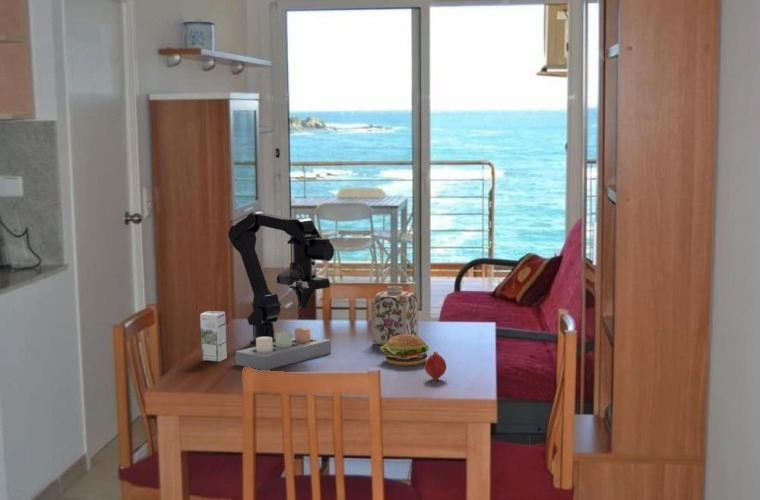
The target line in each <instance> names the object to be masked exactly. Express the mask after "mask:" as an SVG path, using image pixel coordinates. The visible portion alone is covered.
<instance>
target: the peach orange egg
mask: <svg viewBox="0 0 760 500" xmlns="http://www.w3.org/2000/svg"><path fill="white" fill-rule="evenodd" d="M311 335H312V334H311V328H310V327H297V328H294V337H295V343H300V344H305V343H309V342H311V337H312V336H311Z"/></svg>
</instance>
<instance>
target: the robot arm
mask: <svg viewBox="0 0 760 500" xmlns="http://www.w3.org/2000/svg"><path fill="white" fill-rule="evenodd" d="M261 227H265V228H268V229H274V230H279V231H282V232H285V233H286V234H287V235H289V236H290V237H291V238H290V239H289V240H287V242H286V243H287V244H289V245H292V247H293V249H292V251H293V254H292V255H293V261H291V262H290V263H289V268H286V269H285V270H283V271H282V272H280V273H278V275H277V277H276V284H280V285H283V286H285V285H286V286H288V288H290V289H292V290H293V291H294V292H295V294H296V297H297V299H298V303H299V305H300V307H301V309H306V308H307V306H308V304H309V301H310V298H311V297H312V295H313V293H314V291H315V290H321V289H327V288H330V287H331V284H330V283H331V281H330V279H329V278H327V277H316V274H315V273H314V274H313V266H315V265H316V262H315V261H322V262H323V261H324V262H330V261H332V259H333V258H334V256H335V248H334V246H333V244H332V243H331V242H330V238H322V236H321V234H320V232H319V231H318V230H317V227H316V226H315V224H314V222H313V219H311V218H310V217H293V218H292V217H291V218H290V217H285V216H281V215H276V214H272V213H266V212H263V211H253V212H250V213H248V215H246V217H245V218H242V219H241V220H239V221H238V222H237V223H236V224H235V225H232V226H230V228H229V230H228V232H227V235H228V239H229V241H230V244H231V245H232V247H233V248H234V249H235V250H236V251H237V252H238V253H239V254H240V257H241V261H242V263H243V266H244V269H245V272H246V275H247V278H248V281H249V284H250V287H251V290H252V293H253V300H252V309H253V310H252V312H251V313H250V314H249V316H248V317H247V322H248V325H250V326H252V339H251V340H249V343H253V344H256V338H258V337H272V341H273V342H276V338H275V328H274V323H275V322H276V323H277V322H278V317H279V315H280V313H281V306H282V304H281V303H280V300H279V296H278V294H277V293H272V292H271V291H270V289H269V288H268V285H267V281H266V278H265V275H264V272H263V268H262V266H261V263H260V261H259V257H258V254H257V252H256V251H257V250H256V244H257V236H256V234H257V232H259V231H260V230H261ZM314 260H315V261H314Z"/></svg>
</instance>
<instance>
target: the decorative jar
mask: <svg viewBox="0 0 760 500" xmlns="http://www.w3.org/2000/svg"><path fill="white" fill-rule="evenodd" d="M418 301H419V299H418V298H417V296H416V295H415V294H414V293H413V292H411V291H408V290H407V291H406V290H403V287H402V286H400V285H390V286H387V290H383V291H380V292H378V293H376V294H375V296H374V299H373V301H372V303H371V306H372V307H371V310H372V311H371V312H372V314H371V315H372V317H371V318H372V320H371V322H372V323H371V324H372V325H371V326H372V329H371V330H372V332H371V333H372V344H373V345H378V344H379V345H380V346H382V345H383V343H385V344H386V343H387V342H388V340H389V339H390V338H392V337H394V336H397V335H404V334H409V335H414V336H418V337H419V308H418V307H419V303H418ZM379 345H378V346H379Z"/></svg>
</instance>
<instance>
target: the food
mask: <svg viewBox="0 0 760 500" xmlns="http://www.w3.org/2000/svg"><path fill="white" fill-rule="evenodd" d="M429 348H430V347H429V346H428V344H426V343H425V342H424V340H423V339H422V338H421V337H420V336H419V335H418V336H414V335H409V334H404V335H397V336H394V337H392V338H390V339H389V340H388V342H387V343H386V344H385V343H383V345H380V346H379V350H381V352H383V353H384V354H383V356H384V357H385V360H386V363H388V364H390V365H395V366H400V365H401V366H403V367H404V366H405V367H406V366H409V367H410V366H417V365H420V364H423V363H425V362H426V360H427V359H428V355H427V354H428V351H429V350H430V349H429ZM401 366H400V367H401Z"/></svg>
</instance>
